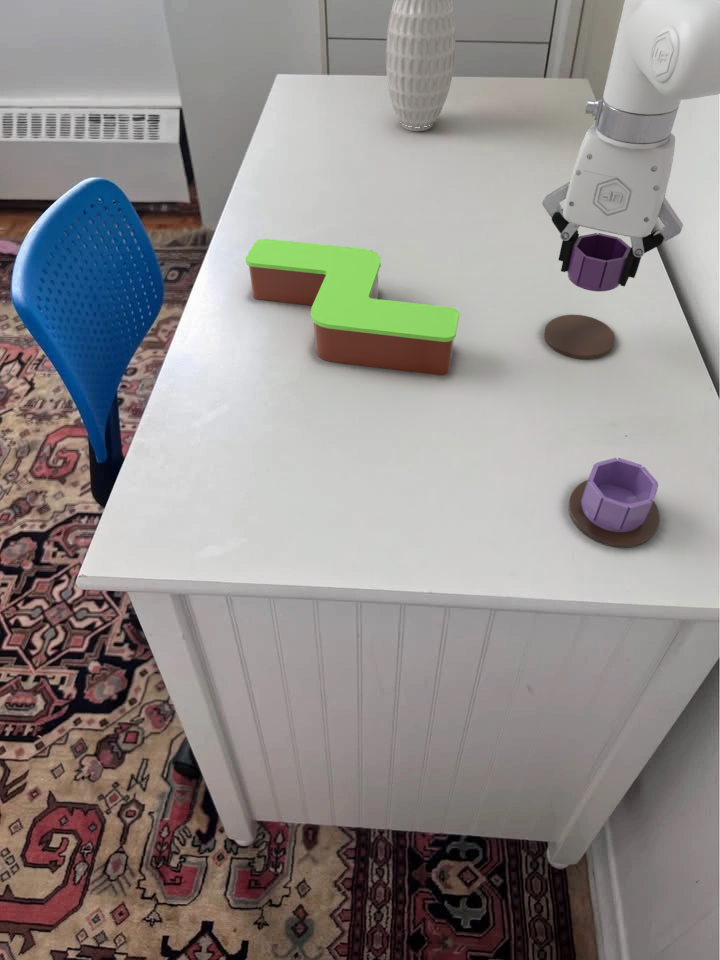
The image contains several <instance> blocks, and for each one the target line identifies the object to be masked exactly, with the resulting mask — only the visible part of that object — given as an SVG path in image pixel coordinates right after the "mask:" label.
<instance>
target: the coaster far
mask: <svg viewBox="0 0 720 960" xmlns="http://www.w3.org/2000/svg"><path fill="white" fill-rule="evenodd" d="M543 337H544V341H545V342H546V344H547V345H548V346H549V348H551V349H552V350H553V351H555V352H556V353H559V354H560V355H563V356H565V357H569V358H572V359H578V360H593V359H598V358H602V357H603V356H605V355H607V354H609V353H610V352H611V351H612V350H613V348H614V345H615V341H616V337H615V333H614V332H613V330H612V329H611V328H610V327H609V326H608V325H607V324H606V323H604V322H603V321H601V320H599V319H598V318H595V317H591V316H588V315H582V314H565V315H559V316H557V317H555V318H553V319H551V320H549V321H548V323H547V324H546V325H545V328H544V331H543Z"/></svg>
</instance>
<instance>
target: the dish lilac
mask: <svg viewBox="0 0 720 960" xmlns="http://www.w3.org/2000/svg"><path fill="white" fill-rule="evenodd" d="M587 480H588V481H587ZM587 480H586V481H587V484H586V487H585V490H584V493H583V496H582V499H581V504H582V509H583V512H584V514H585V515H586V517H587V518H588V519H589V520H590V521H591V522H592V523H594V524H595V525H597V526H598V527H600V528H602V529H605V530H608V531H612V532H628V531H632V530H634V529H636V528H638V527H639V526H640V525H642V524H643V523H644V522H645V520H646V517H647V515H648V513H649V511H650V508H651V506H652V504H653V502H655V498H656V494H657V492H658V487H659V484H658V481H657V480H656V479H655V478H654V476H653V474H651V473H650V471H649V470H648V469H647V468H646V467H645V466H643V464H641V463H637V462H633V461H631V460H627V459H624V458H621V457H613V458H610V459H606V460H601V461H598V462H595V463H594V464H593V465H592V468H591V471H590V473H589V476H588V478H587Z"/></svg>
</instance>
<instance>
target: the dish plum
mask: <svg viewBox="0 0 720 960" xmlns="http://www.w3.org/2000/svg"><path fill="white" fill-rule="evenodd" d="M631 247H632V246H630V245H629V244H628V243H626V242H625V241H624V240H623V239H622V238H621V237H619V236H614V235H610V234H606V233H601V232H595V233H594V232H593V233H589V234H584V235H579V237H578V238H577V240H576V242H575V243H574V245H573V248H572V252H571V257H570V261H569V265H568V270H567V271H566V273H567V277H568V280H569V281H570V282H571V283H572V284H573V285H574V286H576V287H577V288H580V289H582V290H586V291H591V292H609V291H613V290H615V289H616V288H618V287H619V286H620V285H621V284H619V282H620V279H621V275H622V272H623V269H624V265H625V262H626V259H627V256H628V253H629V251H630V249H631Z"/></svg>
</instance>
